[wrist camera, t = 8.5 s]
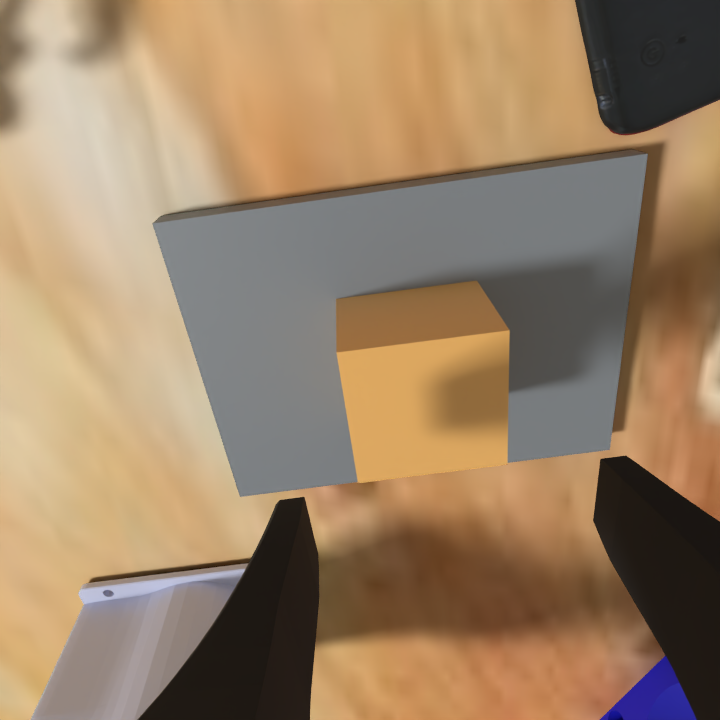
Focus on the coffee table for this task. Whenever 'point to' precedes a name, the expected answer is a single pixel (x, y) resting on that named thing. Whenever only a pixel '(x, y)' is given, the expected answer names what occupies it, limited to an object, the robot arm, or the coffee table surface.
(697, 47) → the game console
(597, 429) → the plate
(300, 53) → the coffee table surface
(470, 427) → the cardboard carton
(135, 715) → the robot arm
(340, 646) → the coffee table surface
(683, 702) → the cable clip
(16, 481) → the coffee table surface
